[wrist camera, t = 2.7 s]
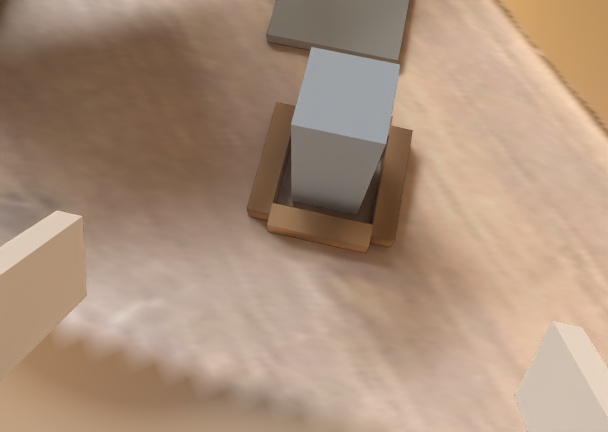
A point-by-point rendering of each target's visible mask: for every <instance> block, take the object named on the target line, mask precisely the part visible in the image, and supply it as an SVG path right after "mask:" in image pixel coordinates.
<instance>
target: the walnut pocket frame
mask: <svg viewBox="0 0 608 432" xmlns="http://www.w3.org/2000/svg"><path fill="white" fill-rule="evenodd" d="M295 107H296V106H292V105H287V104H282V103H276V106H275V110H274V113H273V117H272V121H271V124H270V128H269V131H268V135H267V138H266V142H265V146H264V149H263V153H262V156H261V160H260V163H259V167H258V170H257V174H256V178H255V181H254V185H253V188H252V192H251V195H250V199H249V203H248V206H247V211H248V215H249V216H250V217H254V218H259V219H264V220H268V222H267V228H268V232H272V233H276V234H281V235H285V236H290V237H295V238H299V239H304V240H308V241H313V242H317V243H322V244H326V245H331V246H335V247H340V248H344V249H349V250H353V251H358V252H363V253H366V251H367V249H368V248H369V243H373V244H377V245H382V246H387V247H390V246H391V245H392V244H393V242H394V241H395V235H396V229H397V223H398V217H399V211H400V204H401V198H402V192H403V186H404V180H405V174H406V168H407V162H408V155H409V149H410V143H411V137H412V131H413V130H408V129H404V128H399V127H394V126H391V122H392V117H393V116H391V120H390V125H389V131H388V136H387V142H386V145H385V148H384V153H383V159H382V164H381V170H380V175H379V180H378V186H377V191H376V197H375V202H374V208H373V213H372V219H371V224H367V223H363V222H358V221H354V220H349V219H344V218H340V217H335V216H331V215H326V214H321V213H317V212H312V211H308V210H303V209H298V208H294V207H289V206H285V205H280V204H275V203H276V199H277V196H278V192H279V188H280V184H281V180H282V176H283V173H284V169H285V165H286V161H287V157H288V153H289V149H290V146H291V122H292V119H293V115H294V111H295Z"/></svg>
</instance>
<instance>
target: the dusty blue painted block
mask: <svg viewBox="0 0 608 432" xmlns="http://www.w3.org/2000/svg"><path fill="white" fill-rule="evenodd" d="M399 71H400V64H395V63H390V62H385V61H380V60H375V59H370V58H365V57H360V56H355V55H350V54H345V53H340V52H335V51H330V50H325V49H320V48H315V47H311V50H310V54H309V58H308V62H307V66H306V69H305V73H304V77H303V81H302V85H301V88H300V92H299V96H298V100H297V103H296V107H295V111H294V115H293V119H292V122H291V197H292V201H296V202H301V203H306V204H310V205H315V206H319V207H324V208H329V209H333V210H338V211H342V212H347V213H352V214H356V215H357V213H358V211H359V208H360V206H361V204H362V201H363V199H364V196H365V194H366V191H367V189H368V187H369V184H370V182H371V179H372V177H373V175H374V172H375V170H376V167H377V165H378V162H379V160H380V158H381V155H382V153H383V150H384V148H385V145H386V142H387V136H388V131H389V125H390V120H391V114H392V109H393V103H394V98H395V92H396V87H397V81H398V76H399Z"/></svg>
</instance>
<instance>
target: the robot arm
mask: <svg viewBox="0 0 608 432" xmlns="http://www.w3.org/2000/svg"><path fill="white" fill-rule="evenodd" d="M86 296H87V293H86V273H85V253H84V234H83V216H80V215H76V214H71V213H67V212H62V211H58V210H56V211H55V212H53V213H52V214H50V215H49V216H47V217H46V218H44V219H42V220H41V221H39V222H38V223H36V224H35V225H33V226H31V227H30V228H28V229H27V230H25V231H24V232H22V233H21V234H19V235H17V236H16V237H14V238H13V239H11V240H10V241H8V242H7V243H5V244H3V245H2V246H0V382H1V381H2V380H3V379H4V378H5V377H6V376H7V375H8V374H9V373H10V372H11V371H12V370H13V369H14V368H15V367H16V366H17V365H18V364H19V363H20V362H21V361H22V360H23V359H24V358H25V357H26V356H27V354H29V353H30V352H31V351H32V350H33V349H34V348H35V347H36V346H37V345H38V344H39V343H40V342H41V341H42V340H43V339H44V338H45V337H46V336H47V334H49V333H50V332H51V331H52V330H53V329H54V328H55V327H56V326H57V325H58V324H59V323H60V322H61V321H62V320H63V319H64V318H65V317H66V316H67V315H68V314H69V313H70V312H71V311H72V310H73V309H74V308H75V307H76V306H77V305H78V304H79V303H80V302H81V301H82V300H83V299H84V298H85V297H86ZM514 396H515V398H516V401H517V404H518V407H519V410H520V412H521V415H522V418H523V421H524V423H525V426H526V429H527V432H608V367H607V365H606V364H605V362H604V361H603V359H602V358H601V356H600V354H599V353H598V351H597V350H596V348H595V347H594V345H593V344H592V342H591V341H590V339H589V338H588V336H587V334H586V333H585V331H584V330H583V328H582V327H579V326H574V325H570V324H565V323H561V322H556V321H552V323H551V325H550V327H549V329H548V331H547V333H546V335H545V337H544V338H543V340H542V342H541V344H540V346H539V348H538V350H537V352H536V354H535V356H534V358H533V360H532V362H531V363H530V365H529V367H528V369H527V371H526V373H525V375H524V377H523V379H522V381H521V383H520V385H519V387H518V389H517V390H516V392H515V394H514Z"/></svg>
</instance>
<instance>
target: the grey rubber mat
mask: <svg viewBox="0 0 608 432" xmlns="http://www.w3.org/2000/svg"><path fill="white" fill-rule="evenodd" d="M408 5H409V0H277V2H276V5H275V9H274V12H273V15H272V18H271V22H270V25H269V28H268V31H267V42H272V43H277V44H282V45H288V46H293V47H298V48H303V49H308V50H311V47H315V48H320V49H325V50H330V51H335V52H340V53H345V54H350V55H355V56H360V57H365V58H370V59H375V60H380V61H385V62H390V63H395V64H397V62H398V59H399V53H400V48H401V43H402V37H403V32H404V26H405V21H406V16H407V10H408Z"/></svg>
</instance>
